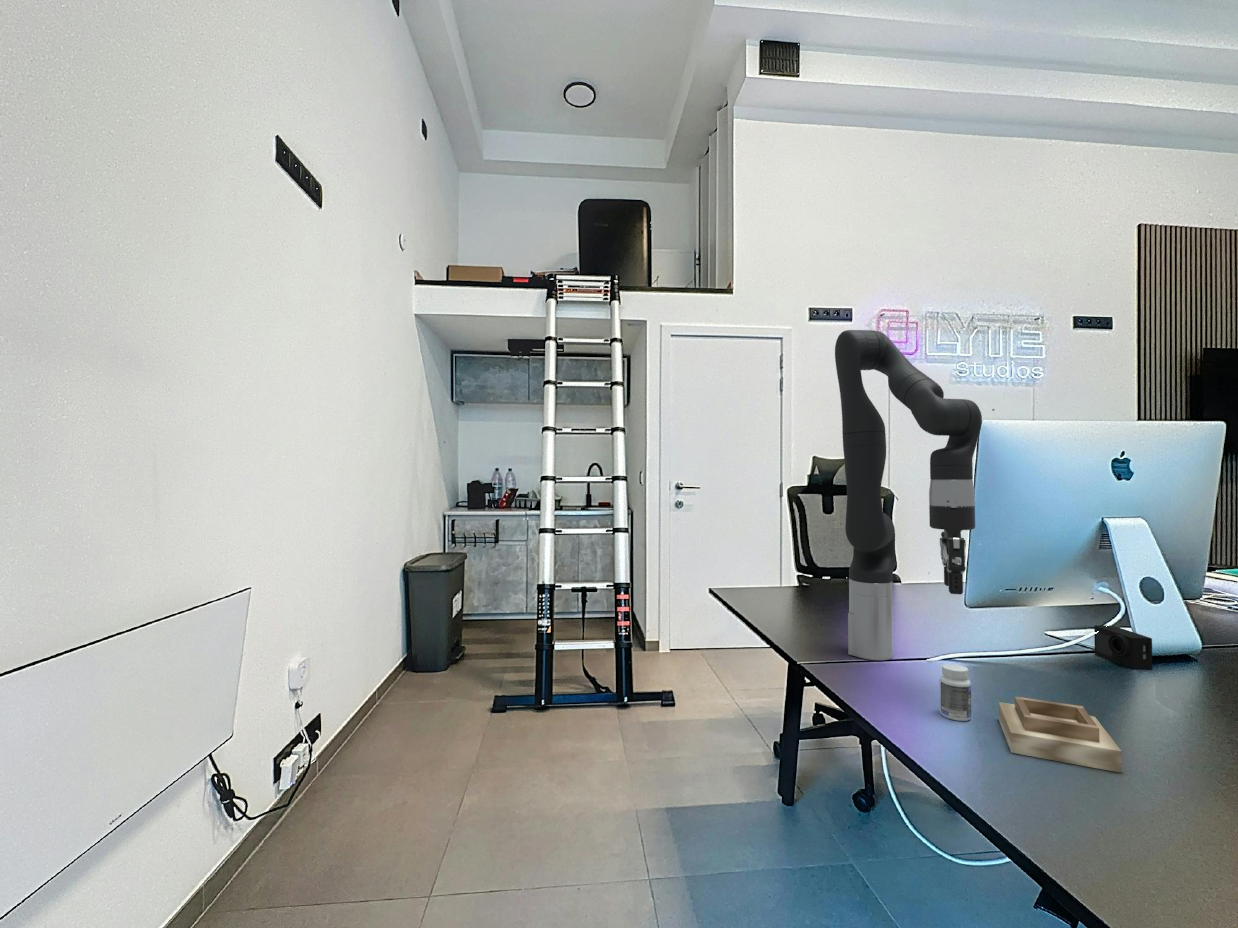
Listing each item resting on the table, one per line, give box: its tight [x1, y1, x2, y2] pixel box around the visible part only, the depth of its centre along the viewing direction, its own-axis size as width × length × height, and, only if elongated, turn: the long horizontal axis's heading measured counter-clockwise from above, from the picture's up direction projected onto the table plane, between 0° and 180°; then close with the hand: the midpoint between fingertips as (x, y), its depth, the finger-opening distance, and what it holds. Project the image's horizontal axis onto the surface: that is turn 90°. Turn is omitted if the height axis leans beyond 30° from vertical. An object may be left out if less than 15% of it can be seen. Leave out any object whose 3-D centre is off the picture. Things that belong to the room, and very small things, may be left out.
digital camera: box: [1093, 624, 1153, 671], centre depth 130 cm, size 10×5×7 cm, turn 179°
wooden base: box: [998, 696, 1123, 774], centre depth 90 cm, size 13×13×5 cm
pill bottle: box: [939, 663, 972, 722], centre depth 100 cm, size 5×5×8 cm
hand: (953, 589), depth 109 cm, fingers open, 8 cm apart
